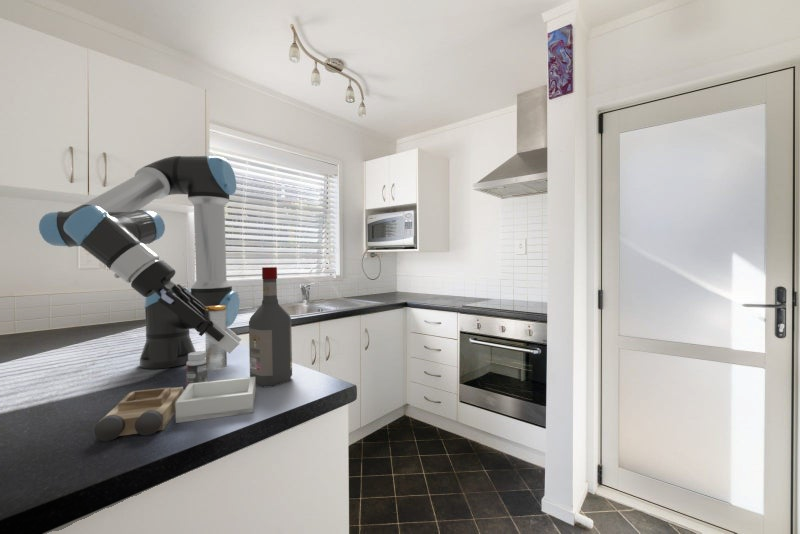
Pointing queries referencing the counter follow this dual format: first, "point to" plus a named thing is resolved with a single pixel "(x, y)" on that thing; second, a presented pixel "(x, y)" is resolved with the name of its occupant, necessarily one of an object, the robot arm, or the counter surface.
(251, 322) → the liquor
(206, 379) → the pill bottle
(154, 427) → the trolley block
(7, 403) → the counter surface
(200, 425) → the counter surface
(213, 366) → the gold capped bottle
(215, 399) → the tray
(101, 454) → the counter surface
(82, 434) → the counter surface
